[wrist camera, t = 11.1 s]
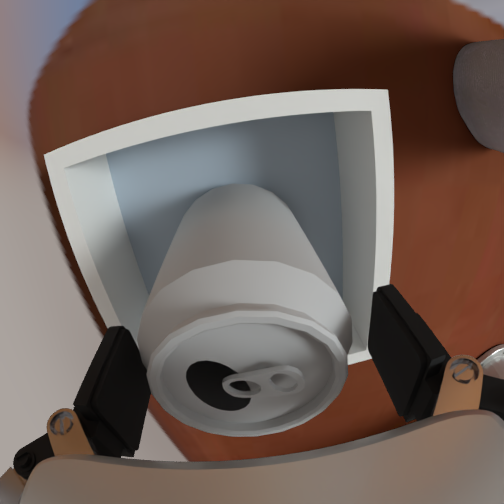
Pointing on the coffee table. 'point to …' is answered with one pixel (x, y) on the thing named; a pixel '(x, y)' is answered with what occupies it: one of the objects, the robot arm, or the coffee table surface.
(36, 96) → the coffee table surface
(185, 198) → the walled box
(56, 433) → the robot arm
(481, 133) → the pillar candle
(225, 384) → the can
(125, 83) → the coffee table surface
